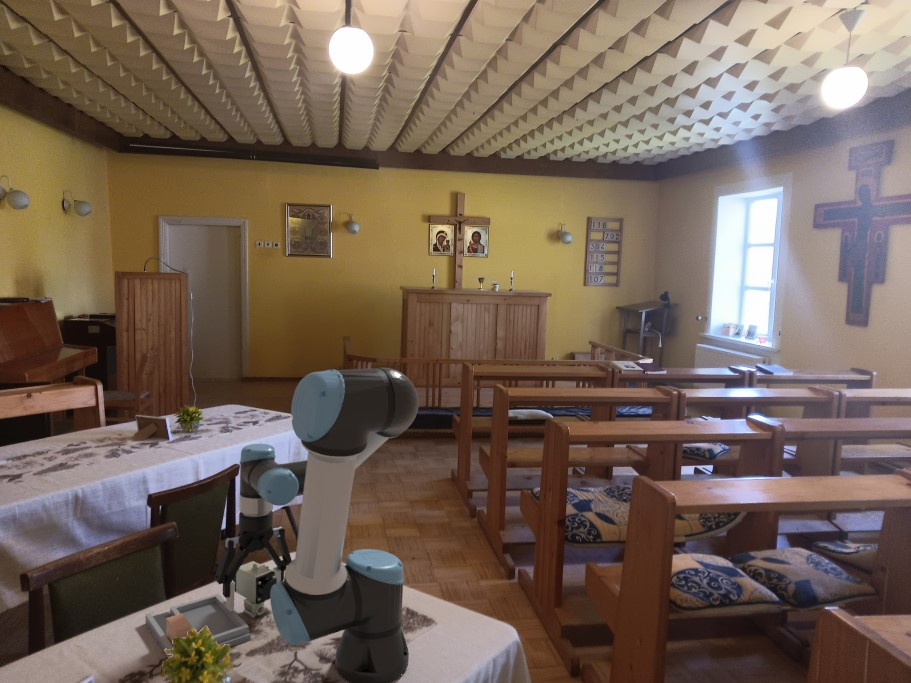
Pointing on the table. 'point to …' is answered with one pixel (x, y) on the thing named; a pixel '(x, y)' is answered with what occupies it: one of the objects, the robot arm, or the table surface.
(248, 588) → the pneumatic valve
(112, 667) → the table surface
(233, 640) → the grey tray
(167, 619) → the tan cardboard box
